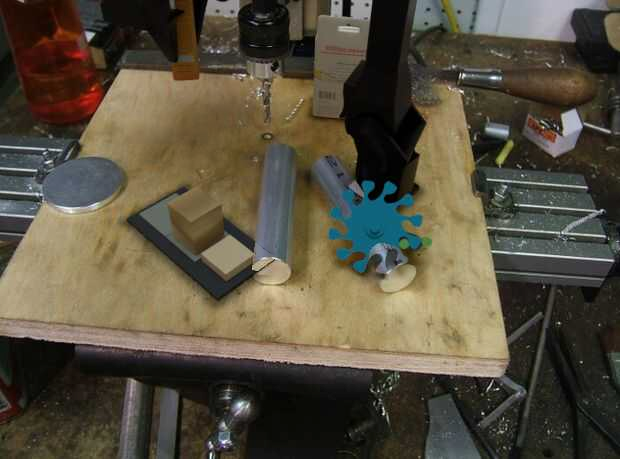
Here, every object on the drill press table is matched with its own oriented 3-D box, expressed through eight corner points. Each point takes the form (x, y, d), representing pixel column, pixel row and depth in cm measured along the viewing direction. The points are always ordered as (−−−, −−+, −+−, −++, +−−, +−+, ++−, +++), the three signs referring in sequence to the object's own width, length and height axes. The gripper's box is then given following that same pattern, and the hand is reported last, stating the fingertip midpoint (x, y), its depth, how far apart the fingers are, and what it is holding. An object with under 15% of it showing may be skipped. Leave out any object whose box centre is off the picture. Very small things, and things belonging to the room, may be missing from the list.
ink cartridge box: (372, 104, 83) (386, 5, 72) (371, 122, 79) (384, 22, 69) (315, 98, 83) (320, -1, 73) (311, 116, 80) (315, 15, 69)
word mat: (275, 259, 60) (275, 249, 59) (217, 300, 56) (216, 290, 55) (184, 188, 68) (182, 178, 67) (127, 220, 64) (124, 210, 62)
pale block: (224, 237, 62) (221, 203, 58) (196, 255, 60) (190, 222, 56) (202, 218, 64) (197, 185, 60) (173, 236, 62) (166, 202, 58)
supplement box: (202, 80, 69) (191, -2, 62) (173, 82, 68) (159, 0, 61) (201, 66, 71) (191, -14, 64) (174, 68, 71) (160, -12, 64)
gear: (312, 254, 59) (347, 165, 58) (318, 252, 65) (350, 171, 64) (412, 294, 57) (448, 203, 57) (409, 288, 63) (441, 205, 63)
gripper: (182, -48, 48) (202, 107, 59) (275, -102, 61) (277, 35, 72) (77, -68, 51) (115, 84, 62) (186, -116, 64) (201, 18, 75)
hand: (184, 53), depth 68 cm, fingers closed on supplement box, 4 cm apart
